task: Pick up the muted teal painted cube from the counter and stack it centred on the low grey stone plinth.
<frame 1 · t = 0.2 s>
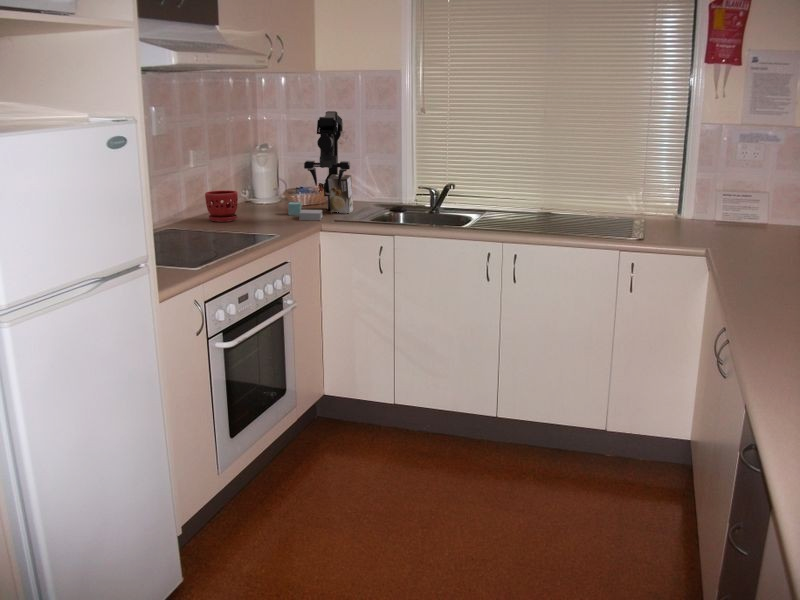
hand: (327, 185, 335), 14 cm above the worktop, tool pointing down, fingers open, 9 cm apart
plant pot: (222, 220, 334), on the worktop
coffee box: (342, 211, 358), on the worktop
stone plinth: (310, 218, 342), on the worktop
teal cube: (294, 214, 351), on the worktop
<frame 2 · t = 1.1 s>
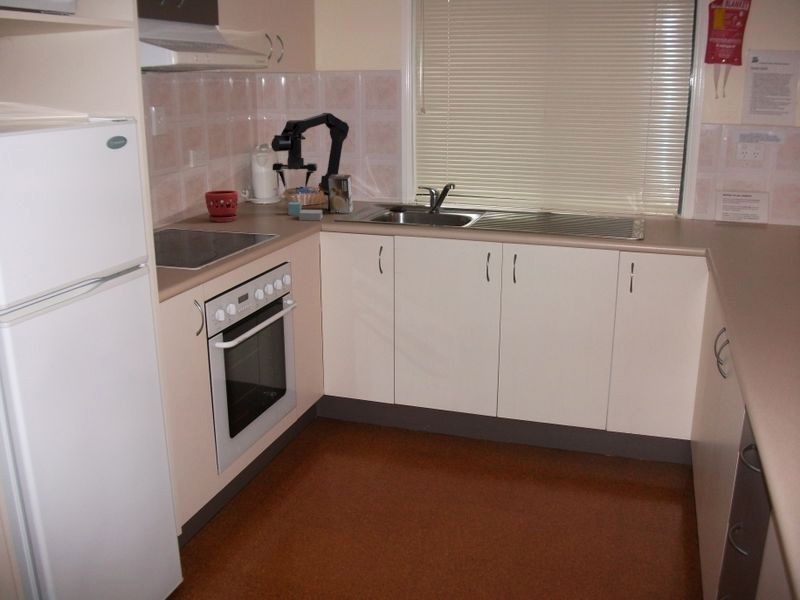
hand: (295, 186, 348), 12 cm above the worktop, tool pointing down, fingers open, 9 cm apart
coffee box: (341, 211, 359), on the worktop, touching arm
everything else where it was.
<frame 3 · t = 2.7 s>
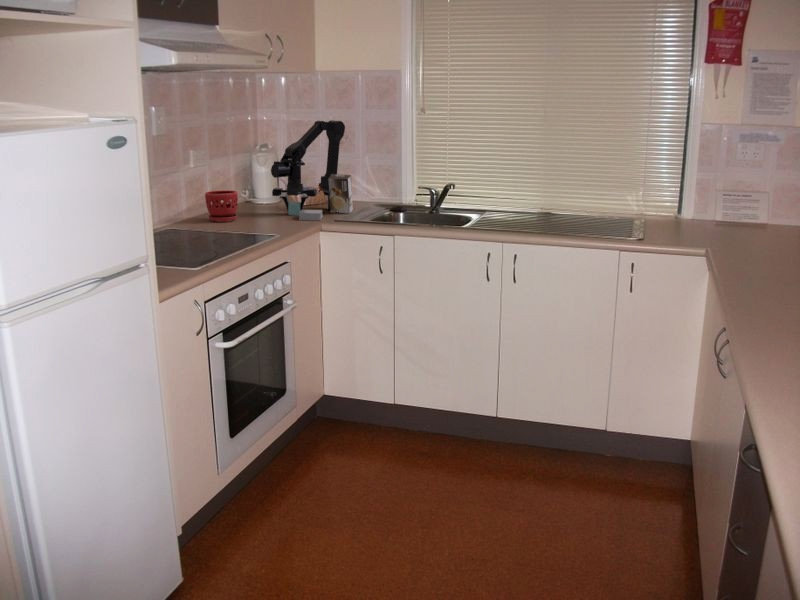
hand: (294, 211, 351), 1 cm above the worktop, tool pointing down, fingers closed on teal cube, 5 cm apart
teal cube: (294, 214, 351), on the worktop, touching gripper
everything else where it was.
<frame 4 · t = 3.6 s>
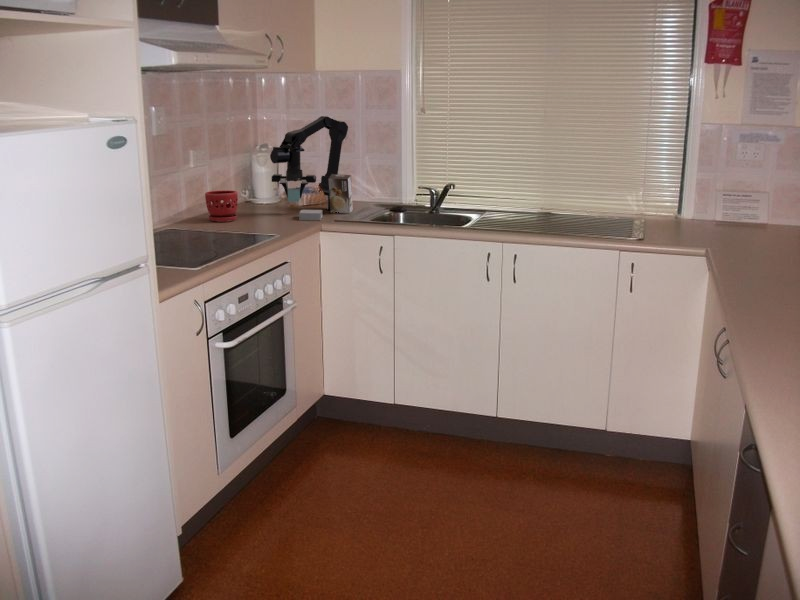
hand: (294, 198, 349), 7 cm above the worktop, tool pointing down, fingers closed on teal cube, 5 cm apart
teal cube: (294, 200, 349), point 6 cm above the worktop, touching gripper
everything else where it was.
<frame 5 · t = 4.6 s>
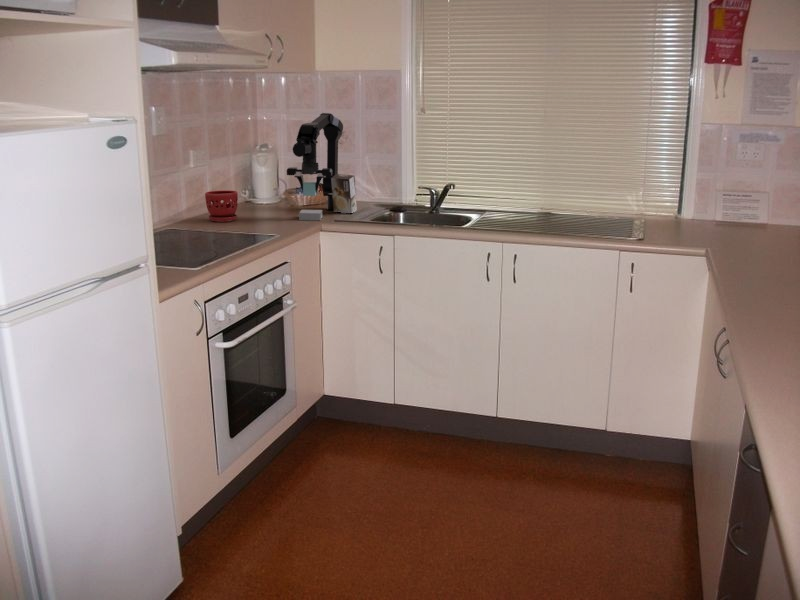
hand: (309, 192, 339), 11 cm above the worktop, tool pointing down, fingers closed on teal cube, 5 cm apart
coffee box: (345, 211, 358), on the worktop, touching arm
teal cube: (309, 194, 339), point 10 cm above the worktop, touching gripper
everything else where it was.
when the fingers open (5 cm above the worktop, at t = 6.0 s): teal cube drops 1 cm, resting on stone plinth.
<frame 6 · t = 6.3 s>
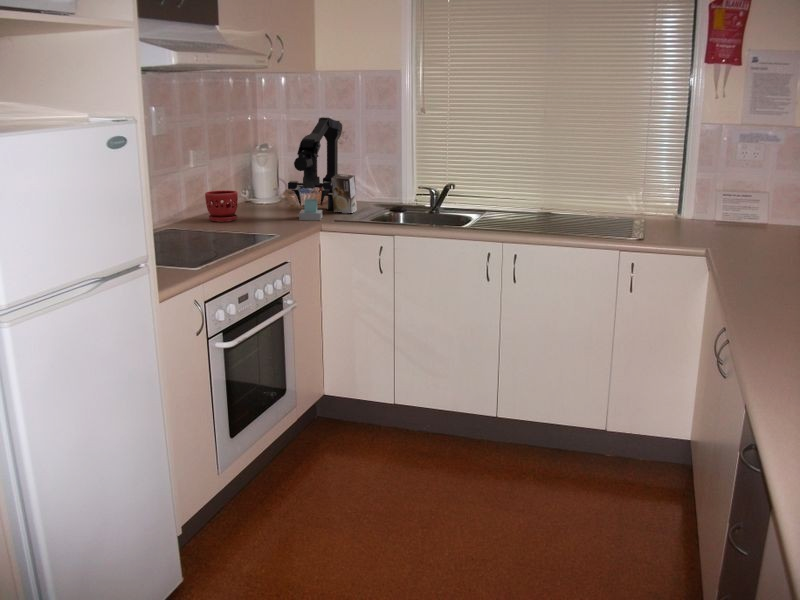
hand: (310, 205, 340), 6 cm above the worktop, tool pointing down, fingers open, 8 cm apart
teal cube: (310, 211, 341), point 3 cm above the worktop, touching stone plinth
everything else where it was.
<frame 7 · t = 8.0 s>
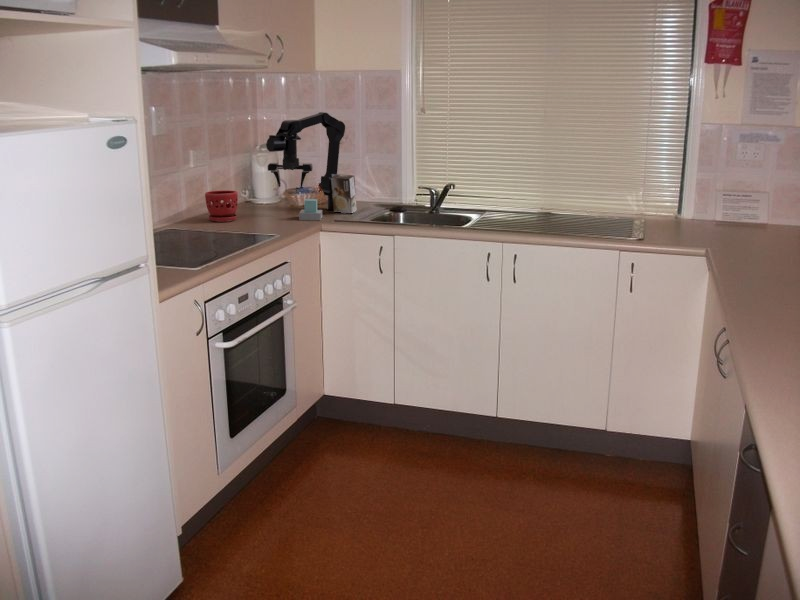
hand: (290, 187, 347), 12 cm above the worktop, tool pointing down, fingers open, 9 cm apart
nothing on the worktop moved.
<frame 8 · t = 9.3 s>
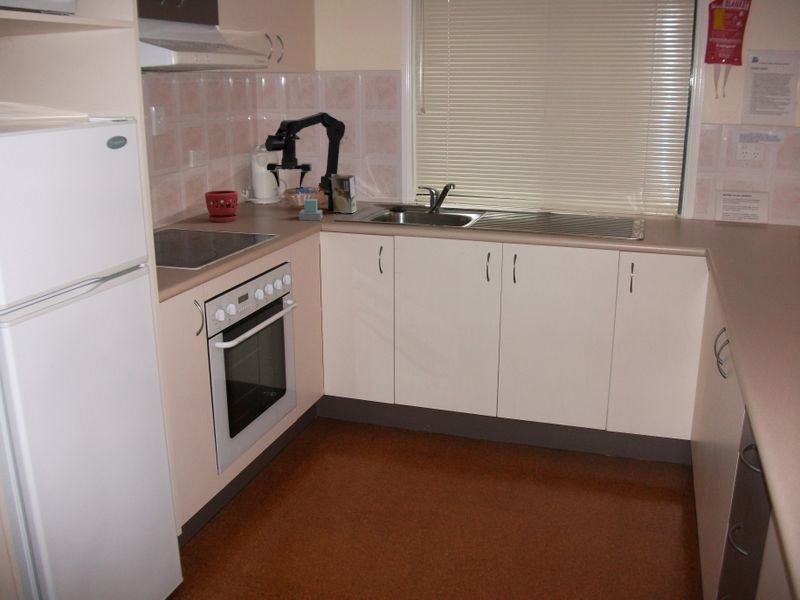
hand: (289, 187, 347), 12 cm above the worktop, tool pointing down, fingers open, 9 cm apart
nothing on the worktop moved.
at the end: teal cube 0.0 cm off-centre on the stone plinth, point 3.0 cm above the stone plinth's base; teal cube tilted 0°; the gripper is holding nothing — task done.
